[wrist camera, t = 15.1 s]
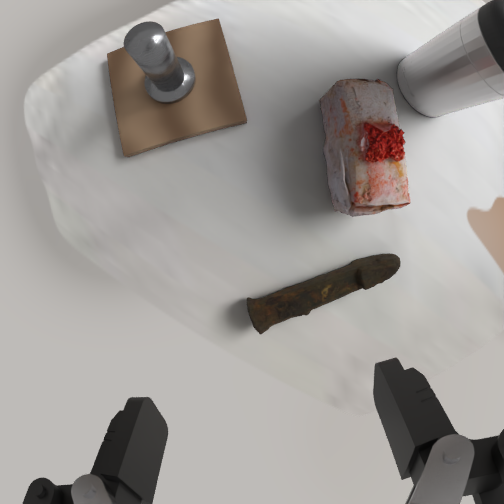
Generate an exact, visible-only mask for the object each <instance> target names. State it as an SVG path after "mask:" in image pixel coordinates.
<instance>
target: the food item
mask: <svg viewBox="0 0 504 504" xmlns="http://www.w3.org/2000/svg"><path fill="white" fill-rule="evenodd" d="M319 102H320V105H321V111H322V116H323V125H324V130H325V133H326V139H325V143H324V146H323V153H324V155H325V159H326V162H327V176H328V186H329V189H330V192H331V197H332V204H334V210H335V211H340V212H341V213H345V214H347V215H350V216H352V217H354V216H361V215H371V214H377V213H380V212H382V211H385V210H387V209H397V208H402V207H404V206H406V205H408V204H410V197H409V193H408V179H407V168H406V160H405V152H404V148H403V145H404V144H405V140H404V139H403V138H404V137H403V134H404V132H403V131H402V129H400V128H399V121H398V115H397V113H396V105H395V101H394V96H393V89H392V88H391V87H390V86H389V85H388V84H387V83H385V82H383V81H380V80H379V79H376V80H375V81H373V80H367V79H345V80H339V81H337V82H336V83H335V85H333V86H332V87H331V88H330V89H329V91H328V92H327V93H326V94H325V95H324V96H323V97H322V98H321V99H320V100H319Z"/></svg>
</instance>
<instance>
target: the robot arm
mask: <svg viewBox="0 0 504 504" xmlns="http://www.w3.org/2000/svg"><path fill="white" fill-rule="evenodd" d="M397 80H398V84H399V87H400V89H401V92H402V94H403V95H404V97H405V99H406V100H407V101H408V103H409V104H410V105H411V106H412V107H413V108H414V109H415V110H417V111H418V112H420V113H421V114H423V115H426V116H429V117H439V116H442V115H445V114H449V113H452V112H456V111H459V110H462V109H466V108H469V107H473V106H477V105H480V104H484V103H487V102H491V101H495V100H499V99H503V98H504V0H492V1H490V2H488V3H487V4H485V5H484V6H482V7H480V8H479V9H477V10H475V11H474V12H472V13H471V14H469V15H468V16H466V17H465V18H463V19H462V20H460V21H458V22H457V23H455V24H454V25H452V26H451V27H449V28H448V29H446V30H445V31H443V32H442V33H440V34H439V35H437V36H436V37H434V38H433V39H431V40H430V41H428V42H427V43H426V44H424V45H423V46H421V47H420V48H418V49H417V50H415V51H414V52H413V53H411V54H410V55H408V56H407V57H406V58H404V59H403V60H402V61H401V62H400V64H399V66H398V70H397ZM373 395H374V402H375V406H376V409H377V411H378V414H379V417H380V419H381V422H382V425H383V427H384V430H385V433H386V436H387V438H388V441H389V444H390V447H391V449H392V452H393V455H394V458H395V461H396V464H397V467H398V470H399V473H400V476H401V479H402V480H403V479H406V478H409V477H411V478H412V481H413V484H414V486H413V488H412V490H411V492H410V494H409V497H408V499H407V501H406V503H405V504H460V502H461V499H462V496H467V495H473V498H474V501H475V504H504V429H503V431H502V432H501V433H500V435H499V436H494V437H489V438H484V439H478V440H471V439H468V438H466V437H465V436H462V435H459V434H458V433H457V432H456V431H455V429H454V428H453V426H452V424H451V422H450V420H449V418H448V417H447V415H446V413H445V411H444V409H443V408H442V406H441V404H440V402H439V400H438V399H437V398H436V396H435V393H434V392H433V390H432V389H431V388H430V385H429V383H428V381H427V380H426V378H425V376H424V375H423V374H421V373H420V372H419V371H417V370H416V369H414V368H410V369H407V370H404V369H403V367H402V365H401V363H400V362H399V360H398V359H397V358H392V359H389V360H386V361H382V362H379V363H376V364H375V371H374V389H373ZM167 437H168V427H167V424H166V421H165V420H164V418H163V417H162V415H161V414H160V412H159V411H158V409H157V407H156V406H155V404H154V403H153V401H152V400H151V399H150V398H149V397H136V398H135V397H132V398H129V399H128V400H127V403H126V405H125V408H124V410H123V411H119V412H118V413H117V414H116V415H115V417H114V418H113V419H112V420H111V422H110V425H109V427H108V430H107V433H106V435H105V437H104V441H103V442H102V445H101V447H100V450H99V452H98V455H97V457H96V460H95V462H94V466H93V468H92V470H91V472H90V474H87V475H83V476H81V477H79V478H78V479H76V480H75V482H74V483H73V484H71V485H59V486H56V485H54V484H53V483H52V482H51V481H50V480H48V479H46V478H38V479H36V480H34V481H33V482H32V483H31V484H30V486H29V488H28V491H27V493H26V496H25V499H24V501H23V504H152V502H153V498H154V494H155V489H156V485H157V480H158V476H159V471H160V467H161V463H162V458H163V454H164V450H165V446H166V441H167Z"/></svg>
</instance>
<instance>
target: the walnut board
mask: <svg viewBox="0 0 504 504" xmlns="http://www.w3.org/2000/svg"><path fill="white" fill-rule="evenodd" d="M165 33H166V36H167V38H168V40H169V42H170V44H171V46H172V48H173V50H174V53H175V55H176V57H180V58H183V59H185V60H187V61H188V62H189V63H190V64H191V65H192V67H193V69H194V72H195V76H196V81H195V85H194V88H193V89H192V91H191V92H190V94H189V95H188V96H187V97H185V98H184V99H182V100H181V101H179V102H176V103H171V104H163V103H159V102H157V101H155V100H154V99H153V98H152V97H151V96H150V95H149V94H148V93H147V91H146V89H145V84H144V83H145V76H146V74H145V73H144V72H143V71H142V69H141V68H140V67H139V66H138V65H137V63H136V62H135V61H134V60H133V58H132V57H131V56H130V55H129V54H128V52H127V51H126V50H125V48H124V47H122V48H120V49H117V50H115V51H113V52H110V53H108V54H107V58H108V66H109V74H110V81H111V88H112V94H113V101H114V107H115V113H116V118H117V124H118V129H119V134H120V139H121V144H122V149H123V154H124V156H125V157H131V156H134V155H137V154H139V153H142V152H145V151H148V150H151V149H154V148H157V147H161V146H164V145H167V144H170V143H173V142H177V141H180V140H183V139H187V138H190V137H194V136H197V135H201V134H205V133H208V132H212V131H216V130H220V129H224V128H228V127H232V126H236V125H240V124H245V123H247V118H246V115H245V111H244V107H243V103H242V100H241V96H240V92H239V89H238V85H237V81H236V78H235V74H234V70H233V67H232V63H231V60H230V56H229V53H228V49H227V46H226V42H225V39H224V35H223V32H222V28H221V25H220V22H219V19H214V20H210V21H206V22H201V23H197V24H193V25H189V26H186V27H182V28H179V29H175V30H172V31H168V32H165Z"/></svg>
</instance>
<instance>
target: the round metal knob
mask: <svg viewBox="0 0 504 504" xmlns="http://www.w3.org/2000/svg"><path fill="white" fill-rule="evenodd" d="M124 48H125V50H126V51H127V52H128V54H129V55H130V56H131V57H132V58H133V60H134V61H135V62H136V63H137V65H138V66H139V67H140V68H141V69H142V71H143V72H144V73H145V74H146V76H145V83H144V84H145V89H146V91H147V93H148V94H149V95H150V96H151V97H152V98H153V99H154V100H155V101H157V102H159V103H163V104H171V103H176V102H179V101H181V100H182V99H184V98H185V97H187V96H188V95H189V94H190V92H191V91H192V89H193V88H194V85H195V81H196V76H195V72H194V69H193V67H192V65H191V64H190V63H189V62H188V61H187V60H185V59H183V58H180V57H176V55H175V53H174V50H173V48H172V46H171V44H170V42H169V40H168V38H167V36H166V33H165V31H164V29H163V27H162V26H161V25H160V24H158V23H156V22H143V23H140V24H138V25H136V26H135V27H133V28H132V29H131V30H130V31H129V32H128V33H127V35H126V37H125V39H124Z"/></svg>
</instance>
